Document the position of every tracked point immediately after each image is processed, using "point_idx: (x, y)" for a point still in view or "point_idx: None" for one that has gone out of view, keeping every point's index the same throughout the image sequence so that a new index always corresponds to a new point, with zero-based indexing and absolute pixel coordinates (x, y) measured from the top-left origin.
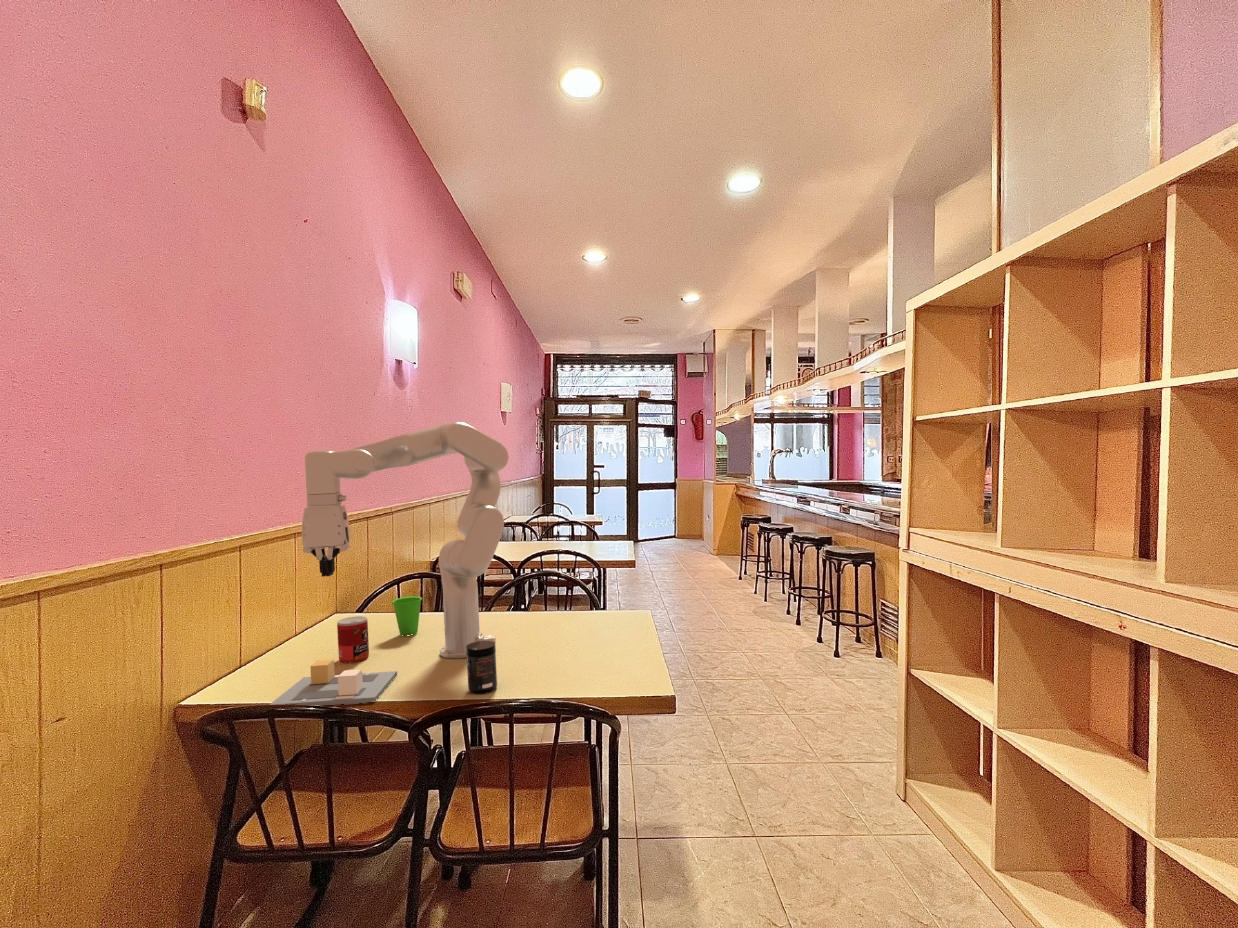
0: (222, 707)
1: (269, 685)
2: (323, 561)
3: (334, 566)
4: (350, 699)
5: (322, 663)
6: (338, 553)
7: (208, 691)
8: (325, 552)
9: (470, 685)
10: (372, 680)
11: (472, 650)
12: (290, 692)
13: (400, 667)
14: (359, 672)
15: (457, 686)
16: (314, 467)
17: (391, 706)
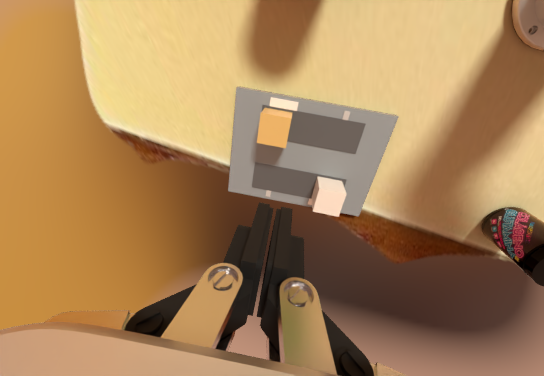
0: (163, 156)
1: (185, 81)
2: (249, 314)
3: (303, 254)
4: None
5: (274, 135)
6: (340, 337)
7: (98, 74)
8: (229, 311)
9: (488, 237)
10: (355, 152)
11: (535, 281)
12: (240, 155)
13: (407, 64)
14: (343, 202)
15: (473, 199)
16: None
17: (376, 230)
